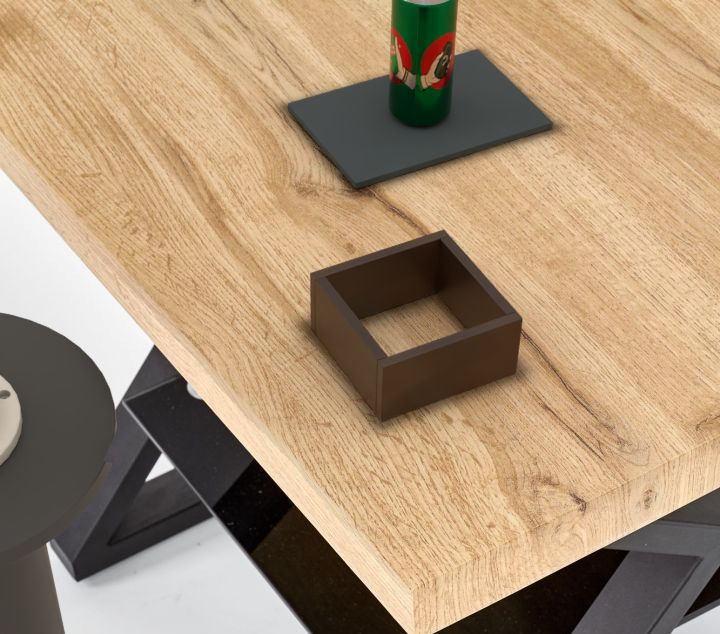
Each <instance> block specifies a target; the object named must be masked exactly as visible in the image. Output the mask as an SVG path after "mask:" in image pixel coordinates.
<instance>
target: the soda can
mask: <svg viewBox="0 0 720 634" xmlns="http://www.w3.org/2000/svg"><path fill="white" fill-rule="evenodd" d="M458 9H459V0H391V9H390V10H391V13H390V43H389V44H390V45H389V46H390V47H389V73H388V74H389V104H388V105H389V110H390V112H391V113H392V115H393V116H394V117H395V118H396V119H397V120H398V121H400V122H401V123H403V124H406V125H408V126H413V127H428V126H433V125H435V124H438V123H439V122H441V121H442V120H443V119H444V118H445V117H447V115H448V114H449V113H450V111H451V101H452V86H453V71H454V56H455V55H456V51H455V50H456V39H457V24H458Z"/></svg>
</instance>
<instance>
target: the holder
mask: <svg viewBox="0 0 720 634" xmlns="http://www.w3.org/2000/svg"><path fill="white" fill-rule="evenodd" d="M309 282H310V283H309V289H310V291H309V293H310V295H309V300H310V303H309V304H310V305H309V306H310V329H311V330H312V332H313V333H314V334H315V336H316V337H317V339H318V340H319V341H320V342H321V344H322V345H323V346H324V348H325V349H326V350H327V352H328V353H329V354H330V356H331V357H332V358H333V360H334V361H335V363H336V364H337V365H338V366H339V368H340V369H341V371H342V372H343V373H344V374H345V375H346V377H347V379H348V380H349V382H350V383H351V384H352V385H353V386H354V387H355V389H356V391H357V392H359V394H360V395H361V398H363V400H364V401H365V402H366V403H367V406H369V408H370V410H372V412H373V413H374V415H376V416H377V418H378V419H379V421H380V422H382V423H383V422H385V421H388V420H391V419H394V418H396V417H398V416H401V415H404V414H407V413H410V412H413V411H415V410H419V409H420V408H423V407H427V406H429V405H431V404H434V403H437V402H440V401H443V400H446V399H449V398H450V397H451V398H452V397H454V396H456V395H459V394H462V393H465V392H467V391H471V390H473V389H476V388H479V387H481V386H484V385H486V384H489V383H493V382H495V381H498V380H501V379H503V378H506V377H509V376H511V375H514V374H516V373H517V371H518V370H517V369H518V362H519V353H520V344H521V337H522V328H523V320H524V319H523V317H522V316H521V315H520V313H519V312H518V311H517V309H515V308H514V306H513V305H512V304H511V303H510V302H509V300H508V299H507V298H506V297H505V296H504V295H503V293H501V292H500V291H499V289H498V287H496V286H495V285H494V284H493V282H492V281H491V280H490V279H489V277H487V276H486V274H485V273H484V272H483V271H482V270H481V269H480V268H479V266H478V265H477V264H475V262H474V261H473V260H472V259H471V257H470V256H469V255H468V254H467V253H466V252H465V251H464V250H463V248H461V246H459V244H458V243H457V242H456V240H454V239H453V237H452V236H450V234H449V233H448V232H447V230H445V229H441V230H437V231H434V232H431V233H428V234H425V235H423V236H419V237H417V238H414V239H410V240H406V241H404V242H401V243H397V244H395V245H392V246H389V247H386V248H381V249H379V250H377V251H376V250H375V251H373V252H370V253H367V254H363V255H361V256H358V257H355V258H351V259H349V260H346V261H343V262H342V261H341V262H339V263H337V264H334V265H331V266H327V267H324V268H322V269H318V270H314V271H312V272H310V273H309ZM434 294H437V296H438V297H439V298H440V299H441V300H442V302H443V303H444V304H445V305H446V306H447V307H448V309H449V310H450V311H451V312H452V313H453V314H454V315H455V317H456V318H457V319H458V321H460V323H461V324H462V325H463V326H464V328H465V329H463V330H460V331H458V332H455V333H452V334H449V335H446V336H443V337H441V338H437V339H435V340H431V341H429V342H426V343H424V344H420V345H418V346H415V347H412V348H409V349H406V350H403V351H400V352H397V353H395V354H391V355H388V354H387V353H386V352H385V350H383V348H382V347H381V345H380V344H379V343H378V342H377V341H376V339H375V338H374V337H373V336H372V334H371V333H370V332H369V331H368V328H367V327H366V326H365V325H364V324H363V322H362V321H361V320H360V319H364V318H367V317H369V316H372V315H375V314H378V313H381V312H385V311H387V310H390V309H393V308H396V307H399V306H402V305H405V304H409V303H411V302H414V301H417V300H420V299H422V298H425V297H428V296H432V295H434Z"/></svg>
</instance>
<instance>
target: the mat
mask: <svg viewBox="0 0 720 634" xmlns="http://www.w3.org/2000/svg"><path fill="white" fill-rule="evenodd" d="M388 104H389V73H387V74H385V75H381V76H378V77H375V78H374V77H373V78H371V79H368V80H363V81H361V82H360V81H359V82H358V83H354V84H350V85H346V86H343V87H340V88H337V89H333V90H329V91H326V92H322V93H319V94H315V95H312V96H308V97H305V98H301V99H298V100H293V101H290V102H288V103H287V110H288V111H289V112H290V113H291V115H292V116H293V117H294V118H295V120H296V121H297V123H299V124H300V125H301V126H302V128H303V130H305V132H307V133H308V135H309V136H310V137H311V138H312V140H314V142H315V143H316V145H318V146H319V148H320V149H321V150H322V151H323V153H325V155H326V156H327V157H328V158H329V159H330V161H331V162H332V163H333V164H334V165H335V166H336V168H337V169H338V170H339V171H340V172H341V173H342V175H343V176H344V177H345V178H346V179H347V181H348V182H349V183H350V184H351V185H352V187H353V188H354V189H356V190H358V189H361V188H364V187H368V186H370V185H374V184H378V183H380V182H384V181H386V180H391V179H393V178H397V177H400V176H403V175H405V174H409V173H413V172H416V171H419V170H422V169H425V168H428V167H432V166H435V165H438V164H442V163H445V162H447V161H451V160H455V159H458V158H460V157H464V156H467V155H470V154H473V153H477V152H480V151H483V150H487V149H489V148H490V149H491V148H494V147H496V146H499V145H502V144H506V143H509V142H513V141H516V140H519V139H522V138H524V137H528V136H532V135H536V134H538V133H541V132H545V131H548V130H551V129H553V126H554V122H553V120H552V119H550V117H548V116H547V115H546V114H545V113H544V112H543V111H542V110H541V109H540V108H539V107H538V106H537V105H536V104H535V103H534V102H533V101H532V100H531V99H530V98H529V97H528V96H527V95H525V93H524V92H523V91H521V90H520V88H518V86H517V85H515V84H514V83H513V81H511V80H510V78H508V77H507V76H506V75H505V74H504V73H503V72H502V71H501V69H499V68H498V67H497V66H496V65H495V64H494V63H493V62H492V61H491V60H490V59H489V58H488V57H486V55H485V54H484V53H483V52H482V51H481V50H479V49H478V48H476V49H471V50H468V51H466V52H461V53H458V54H455V56H454V71H453V86H452V101H451V111H450V113H449V114H448V115H447V117H445V118H444V119H443V120H442V121H441V122H439V123H438V124H435V125H433V126H428V127H413V126H408V125H406V124H403V123H401V122H400V121H398V120H397V119H396V118H395V117H394V116H393V115H392V113H391V112H390V110H389V105H388Z"/></svg>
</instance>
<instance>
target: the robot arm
mask: <svg viewBox="0 0 720 634" xmlns="http://www.w3.org/2000/svg"><path fill="white" fill-rule="evenodd" d="M22 421H23V420H22V414H21V408H20V404H19V400H18V397H17V394H16V393H15V391H14V390H13V388H12V386H11V385H10V384H9V383H8V382H7V381H6V380H5V379H4V378H3V377H2V376H1V375H0V465H1V464H2V463H3V462H4V461H5V460H6V459H7V458H8V457H9V456H10V454H11V453H12V451H13V450H14V448H15V447H16V445H17V442H18V440H19V437H20V435H21V429H22Z"/></svg>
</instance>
